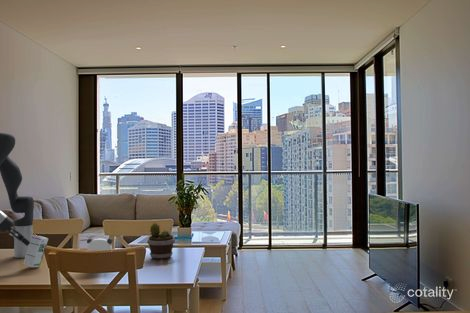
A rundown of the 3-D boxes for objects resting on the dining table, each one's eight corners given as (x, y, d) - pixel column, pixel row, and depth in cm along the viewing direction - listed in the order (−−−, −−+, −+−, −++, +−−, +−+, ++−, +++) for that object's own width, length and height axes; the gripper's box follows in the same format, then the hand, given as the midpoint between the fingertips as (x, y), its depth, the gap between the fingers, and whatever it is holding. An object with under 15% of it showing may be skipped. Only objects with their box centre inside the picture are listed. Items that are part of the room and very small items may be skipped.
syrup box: (32, 267, 209) (42, 237, 211) (22, 264, 210) (32, 234, 212) (39, 267, 214) (49, 238, 217) (29, 263, 215) (39, 235, 218)
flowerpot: (177, 255, 240) (177, 219, 240) (171, 261, 224) (170, 222, 225) (152, 255, 241) (152, 219, 241) (143, 261, 226) (143, 222, 226)
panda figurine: (114, 266, 214) (114, 236, 214) (110, 272, 203) (110, 240, 203) (88, 267, 212) (88, 236, 213) (84, 273, 201) (84, 240, 201)
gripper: (7, 216, 201) (36, 240, 208) (5, 213, 212) (32, 236, 219) (-6, 228, 198) (24, 252, 205) (-8, 225, 209) (20, 248, 216)
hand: (28, 244), depth 212 cm, fingers closed
